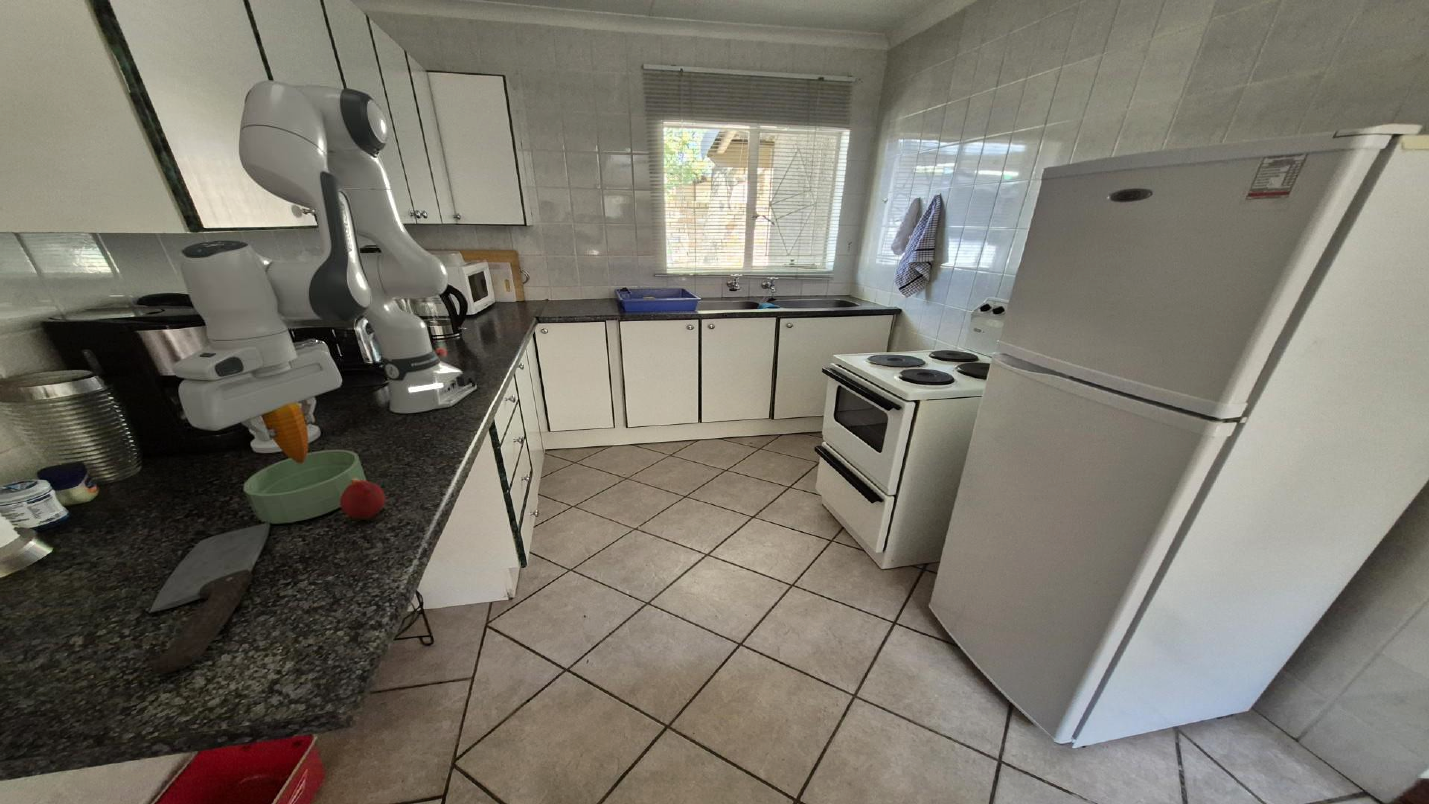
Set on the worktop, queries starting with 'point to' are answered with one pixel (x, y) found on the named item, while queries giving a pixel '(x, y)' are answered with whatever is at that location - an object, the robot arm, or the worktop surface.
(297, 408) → the carrot
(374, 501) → the onion
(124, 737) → the worktop surface
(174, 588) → the cleaver
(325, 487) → the bowl
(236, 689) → the worktop surface
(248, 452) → the worktop surface
